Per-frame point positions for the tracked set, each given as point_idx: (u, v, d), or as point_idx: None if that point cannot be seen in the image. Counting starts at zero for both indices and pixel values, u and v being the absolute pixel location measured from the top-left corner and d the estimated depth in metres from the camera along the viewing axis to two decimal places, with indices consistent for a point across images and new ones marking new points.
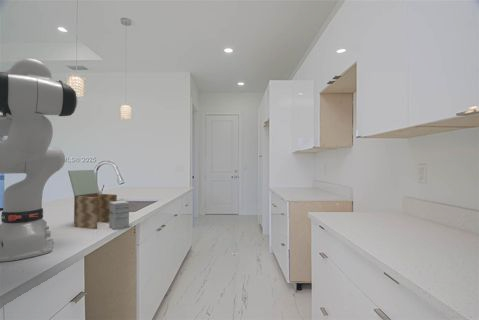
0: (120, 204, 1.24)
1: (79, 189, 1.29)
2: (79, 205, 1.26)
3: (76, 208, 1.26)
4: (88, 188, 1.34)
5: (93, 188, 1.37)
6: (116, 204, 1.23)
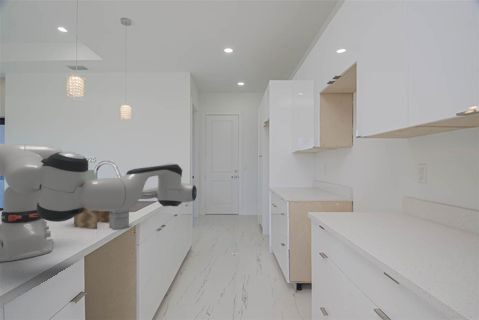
0: None
1: None
2: None
3: None
4: None
5: None
6: None
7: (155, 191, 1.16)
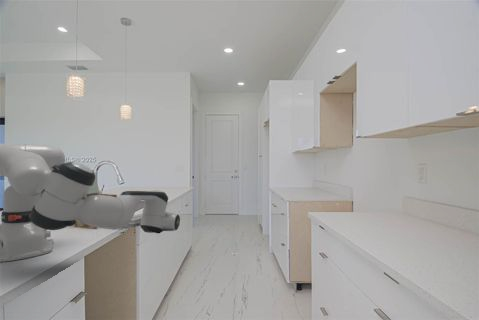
0: None
1: None
2: None
3: None
4: None
5: (93, 188, 1.37)
6: None
7: (139, 219, 1.18)
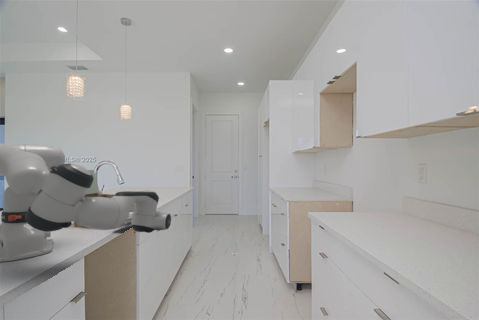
0: None
1: None
2: None
3: None
4: (88, 188, 1.34)
5: (93, 188, 1.37)
6: None
7: (131, 218, 1.20)
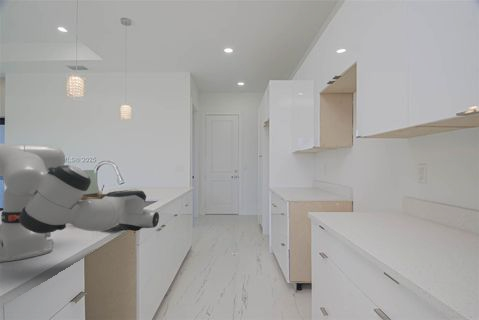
0: None
1: None
2: None
3: None
4: (88, 188, 1.34)
5: (93, 188, 1.37)
6: None
7: None
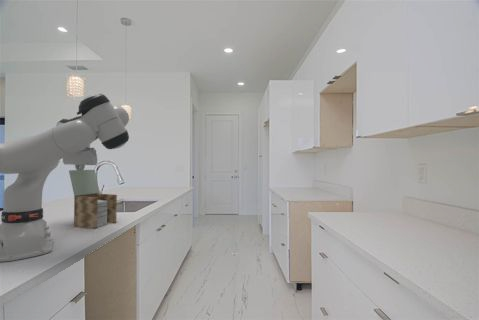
0: (101, 203, 1.27)
1: (79, 188, 1.29)
2: (79, 205, 1.26)
3: (76, 208, 1.26)
4: (88, 188, 1.34)
5: (93, 188, 1.37)
6: (98, 203, 1.26)
7: (85, 150, 1.32)
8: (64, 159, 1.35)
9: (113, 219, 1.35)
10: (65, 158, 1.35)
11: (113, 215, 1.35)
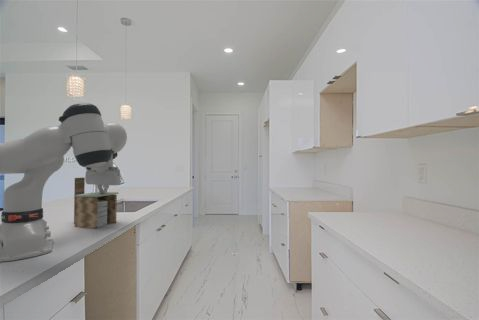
0: (101, 203, 1.27)
1: None
2: (79, 205, 1.26)
3: (76, 208, 1.26)
4: (93, 194, 1.33)
5: None
6: (98, 203, 1.26)
7: (108, 170, 1.28)
8: (87, 179, 1.31)
9: (113, 219, 1.35)
10: (88, 178, 1.31)
11: (113, 215, 1.35)
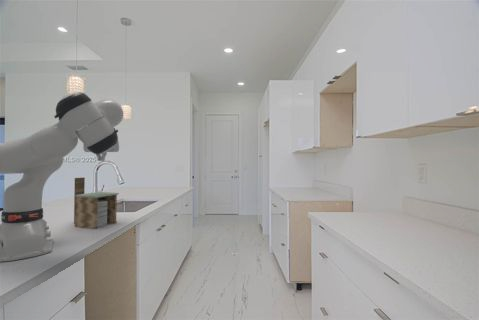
0: (101, 203, 1.27)
1: None
2: (79, 205, 1.26)
3: (76, 208, 1.26)
4: (93, 194, 1.33)
5: None
6: (98, 203, 1.26)
7: None
8: (85, 146, 1.32)
9: (113, 219, 1.35)
10: (86, 145, 1.31)
11: (113, 215, 1.35)
